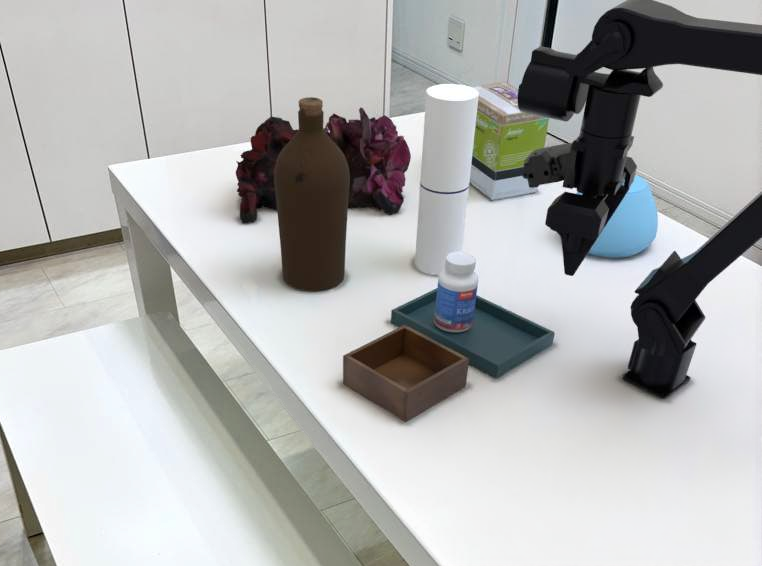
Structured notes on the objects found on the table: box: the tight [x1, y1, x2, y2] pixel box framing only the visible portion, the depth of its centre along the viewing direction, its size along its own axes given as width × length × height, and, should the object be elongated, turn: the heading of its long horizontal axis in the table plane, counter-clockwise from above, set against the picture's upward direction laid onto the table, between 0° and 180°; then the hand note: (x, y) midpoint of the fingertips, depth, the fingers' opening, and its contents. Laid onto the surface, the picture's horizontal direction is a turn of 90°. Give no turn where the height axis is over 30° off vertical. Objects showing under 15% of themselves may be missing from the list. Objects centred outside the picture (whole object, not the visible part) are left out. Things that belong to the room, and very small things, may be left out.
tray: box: [390, 287, 556, 379], centre depth 119 cm, size 19×12×2 cm, turn 44°
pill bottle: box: [434, 251, 479, 333], centre depth 118 cm, size 6×5×10 cm
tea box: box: [469, 81, 550, 201], centre depth 154 cm, size 15×10×15 cm, turn 25°
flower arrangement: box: [235, 107, 412, 224], centre depth 146 cm, size 31×20×15 cm, turn 107°
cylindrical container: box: [414, 83, 479, 276], centre depth 126 cm, size 7×7×25 cm
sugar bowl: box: [575, 174, 659, 259], centre depth 138 cm, size 15×15×12 cm
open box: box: [342, 325, 470, 423], centre depth 109 cm, size 11×11×4 cm
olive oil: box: [274, 96, 350, 292], centre depth 122 cm, size 11×11×25 cm
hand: (579, 259), depth 109 cm, fingers open, 9 cm apart
